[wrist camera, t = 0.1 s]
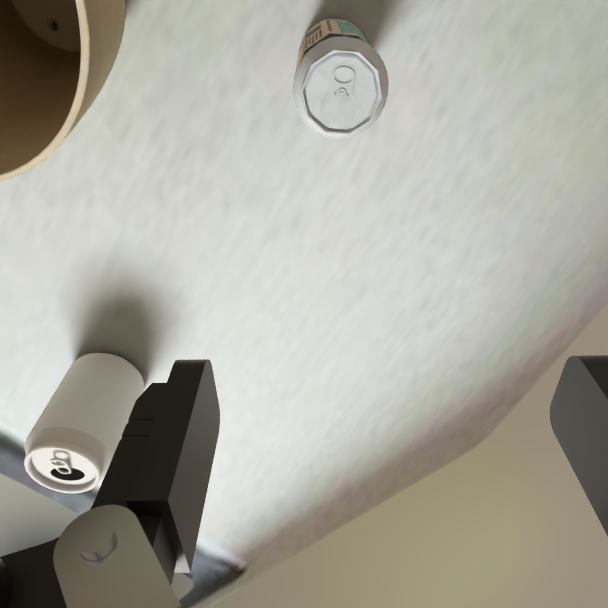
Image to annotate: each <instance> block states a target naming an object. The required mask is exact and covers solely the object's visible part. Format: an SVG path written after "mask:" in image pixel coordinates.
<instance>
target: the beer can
mask: <svg viewBox="0 0 608 608" xmlns="http://www.w3.org/2000/svg"><path fill="white" fill-rule="evenodd" d="M293 91H294V100H295V104H296V108H297V110H298V112H299V114H300V116H301V117H302V119H303V120H304V122H305V123H306V124H307V125H308V126H310V127H311V128H312V129H313V130H314V131H316V132H318V133H320V134H322V135H324V136H327V137H332V138H347V137H351V136H354V135H357V134H359V133H361V132H362V131H364V130H366V129H367V128H369V127H370V126H371V125H372V124H373V123H374V122H375V121H376V120H377V118H378V117H379V115H380V114H381V112H382V110H383V108H384V106H385V103H386V99H387V95H388V76H387V71H386V68H385V65H384V62H383V61H382V59H381V57H380V56H379V55H378V54H377V52H376V51H375V50H374V49H373V48H372V46H371V45H370V44H369V42H368V41H367V40H366V39H365V37H364V35H363V34H362V32H361V31H360V30H359V29H358V28H357V27H356V26H355V25H354V24H352V23H351V22H349V21H347V20H343V19H338V18H337V19H325V20H323V21H321V22H318V23H317V24H316V25H314V26H313V27H312V28H311V29H310V30H309V31H308V32H307V33H306V35H305V37H304V38H303V40H302V43H301V46H300V49H299V55H298V61H297V67H296V73H295V78H294V84H293Z"/></svg>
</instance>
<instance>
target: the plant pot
mask: <svg viewBox="0 0 608 608" xmlns="http://www.w3.org/2000/svg"><path fill="white" fill-rule="evenodd" d="M125 16H126V0H0V182H1V181H4V180H8V179H11V178H14V177H16V176H19V175H21V174H23V173H25V172H27V171H29V170H31V169H32V168H34V167H35V166H37V165H38V164H40V163H41V162H43V161H44V160H45V159H46V158H48V157H49V156H50V155H51V154H52V153H53V152H54V151H55V149H56V148H57V147H58V146H59V145H60V144H61V143H62V141H63V140H64V139H65V138H66V137H67V135H68V134H69V133H70V132H71V131H72V129H73V128H74V127H75V126H76V124H77V123H78V122H79V120H80V119H81V118H82V117H83V115H84V114H85V113H86V111H87V110H88V109H89V108H90V106H91V104H92V103H93V101H94V100H95V98H96V97H97V95H98V94H99V92H100V91H101V89H102V87H103V85H104V83H105V81H106V79H107V77H108V75H109V73H110V71H111V69H112V67H113V64H114V62H115V59H116V57H117V54H118V51H119V47H120V44H121V40H122V36H123V32H124V25H125ZM55 22H56V23H57V26H58V28H57V29H56V30H54V29H53V26H52V25H53V23H55Z"/></svg>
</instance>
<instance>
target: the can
mask: <svg viewBox="0 0 608 608" xmlns="http://www.w3.org/2000/svg"><path fill="white" fill-rule="evenodd" d="M143 391H144V381H143V378H142V376H141V374H140V372H139V371H138V370H137V369H136V368H135V367H134V366H133V365H132V364H131V363H130V362H128V361H127V360H125V359H124V358H122V357H119V356H116V355H114V354H107V353H91V354H86V355H84V356H82V357H79V358H78V359H77V360H76V361H75V362H74V363H73V364H72V365H71V367H70V368H69V370H68V372H67V373H66V375H65V377H64V378H63V380H62V382H61V383H60V385H59V386H58V388H57V390H56V391H55V393H54V395H53V396H52V398H51V400H50V401H49V403H48V405H47V406H46V408H45V409H44V411H43V413H42V414H41V416H40V418H39V419H38V421H37V423H36V424H35V426H34V428H33V429H32V431H31V432H30V434H29V436H28V437H27V439H26V443H25V446H24V447H25V452H26V457H25V460H24V465H25V469H26V471H27V472H28V474H29V475H30V476H31V478H32V479H34V480H35V481H36V482H38V483H39V484H41V485H43V486H45V487H47V488H49V489H52V490H55V491H59V492H65V493H81V492H85V491H88V490H91V489H92V488H94V487H95V486H96V485H98V483H99V480H101V479H103V478H104V477H105V475H106V472H107V470H108V468H109V465H110V463H111V460H112V458H113V455H114V453H115V450H116V448H117V446H118V443H119V441H120V440H121V439H122V433H123V431H124V429H125V426H126V424H127V423H128V419H129V416H130V414H131V411H132V409H133V407H134V404H135V402H136V400H137V399H138V398H139V397H140V396H141V394H142V393H143Z"/></svg>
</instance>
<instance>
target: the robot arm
mask: <svg viewBox="0 0 608 608" xmlns="http://www.w3.org/2000/svg"><path fill="white" fill-rule="evenodd" d="M550 421H551V425H552V429H553V431H554V433H555V435H556V437H557V439H558V441H559V443H560V445H561V447H562V449H563V451H564V453H565V455H566V457H567V458H568V460H569V462H570V464H571V466H572V468H573V470H574V472H575V474H576V476H577V478H578V480H579V482H580V483H581V486H582V487H583V489H584V491H585V493H586V495H587V497H588V499H589V501H590V503H591V505H592V507H593V509H594V510H595V512H596V514H597V516H598V518H599V520H600V522H601V524H602V526H603V528H604V530H605V532H606V534H607V536H608V356H606V355H605V356H571V357H570V358H568V360H567V361H566V363H565V366H564V369H563V372H562V374H561V377H560V380H559V383H558V386H557V389H556V391H555V394H554V397H553V400H552V402H551V407H550ZM219 425H220V410H219V403H218V398H217V392H216V386H215V381H214V375H213V370H212V365H211V362H210V360H176V361H175V363H174V365H173V367H172V370H171V373H170V376H169V378H168V381H167V383H152V384H151V385H150V386H149V387H148V388H147V389H146V390H145V391H144V392H143V393H142V394H141V396H140V397H139V398H138V399H137V400H136V402H135V404H134V407H133V409H132V411H131V414H130V416H129V419H128V423H127V424H126V426H125V429H124V431H123V433H122V439H121V440H120V441H119V443H118V446H117V448H116V450H115V453H114V455H113V458H112V460H111V463H110V465H109V468H108V470H107V472H106V475H105V477H104V480H103V482H102V485H101V487H100V489H99V492H98V494H97V497H96V499H95V501H94V503H93V505H92V507H91V509H90V510H89V511H87V512H85V513H83V514H82V515H80V516H78V517H77V518H76V519H75V520H73V521H72V522H71V523H70V524H69V525H68V526H67V527H66V529H65V530H64V531H63V533H62V534H61V536H60V537H58V538H56V539H54V540H52V541H49V542H47V543H44V544H41V545H38V546H34V547H31V548H28V549H25V550H21V551H18V552H15V553H12V554H8V555H5V556H2V557H0V608H182V607H181V605H180V603H179V601H178V599H177V597H176V595H175V593H174V591H173V589H172V587H171V584H172V579H173V575H174V572H191V567H192V562H193V557H194V552H195V547H196V542H197V537H198V532H199V527H200V522H201V517H202V513H203V508H204V503H205V498H206V493H207V488H208V483H209V478H210V473H211V468H212V463H213V458H214V454H215V449H216V444H217V439H218V434H219Z"/></svg>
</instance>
